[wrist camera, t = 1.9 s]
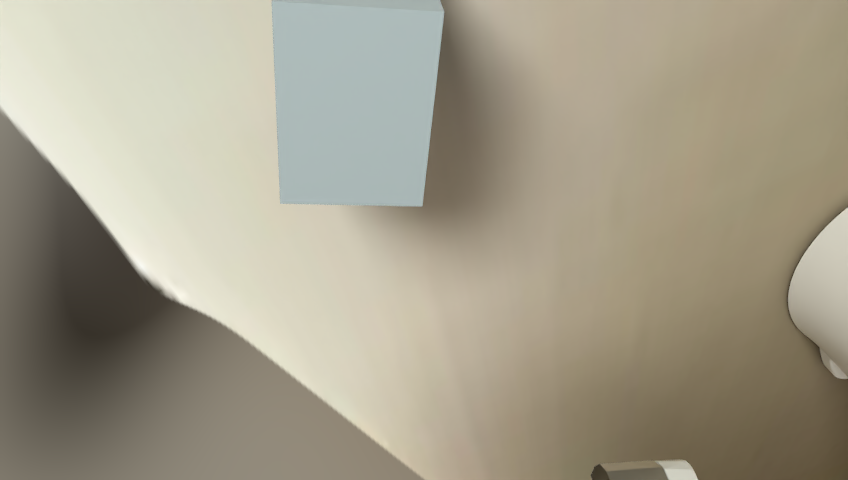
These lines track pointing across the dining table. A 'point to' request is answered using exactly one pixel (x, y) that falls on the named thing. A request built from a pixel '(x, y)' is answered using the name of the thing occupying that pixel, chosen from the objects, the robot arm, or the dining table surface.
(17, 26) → the dining table surface
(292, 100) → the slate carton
